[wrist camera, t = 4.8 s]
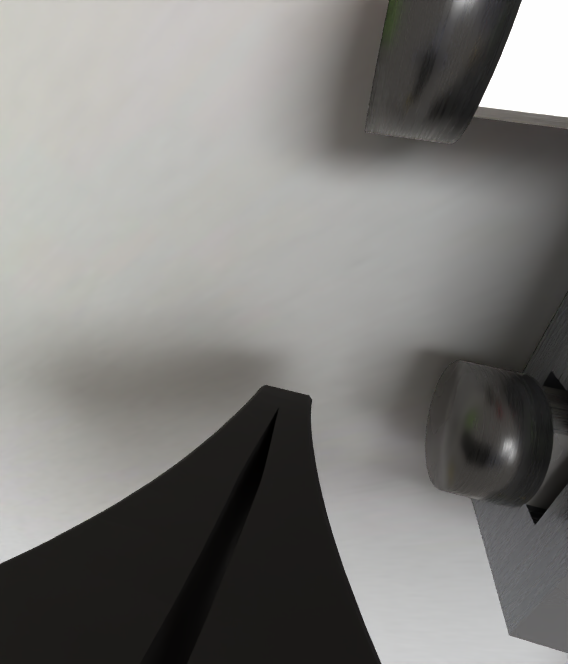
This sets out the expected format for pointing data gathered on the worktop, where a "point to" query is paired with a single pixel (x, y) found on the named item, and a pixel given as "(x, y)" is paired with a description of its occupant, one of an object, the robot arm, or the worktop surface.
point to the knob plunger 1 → (469, 66)
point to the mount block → (534, 529)
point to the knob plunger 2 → (497, 436)
